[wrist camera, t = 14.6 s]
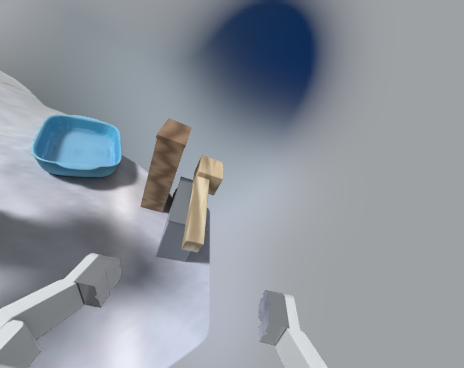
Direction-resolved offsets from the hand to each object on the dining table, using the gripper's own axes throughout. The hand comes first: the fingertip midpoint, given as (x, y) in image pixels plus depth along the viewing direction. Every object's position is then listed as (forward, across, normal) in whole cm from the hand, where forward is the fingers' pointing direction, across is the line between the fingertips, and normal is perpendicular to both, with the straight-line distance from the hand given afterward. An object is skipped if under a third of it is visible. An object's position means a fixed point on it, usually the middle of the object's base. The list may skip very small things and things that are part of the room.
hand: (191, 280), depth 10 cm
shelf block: (+47, -24, -30) cm, 61 cm away
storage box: (+36, -13, -33) cm, 51 cm away
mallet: (+33, -8, -17) cm, 38 cm away
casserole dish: (+52, -54, -22) cm, 79 cm away
